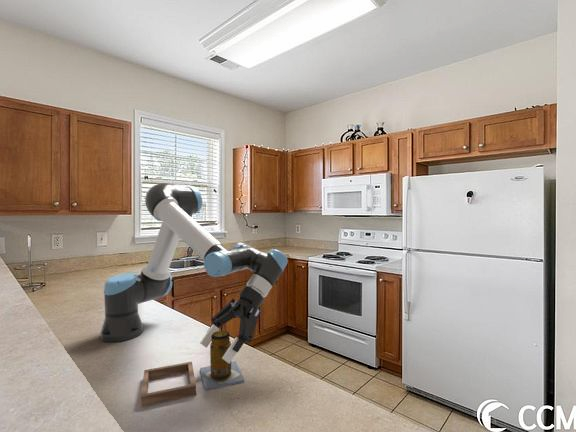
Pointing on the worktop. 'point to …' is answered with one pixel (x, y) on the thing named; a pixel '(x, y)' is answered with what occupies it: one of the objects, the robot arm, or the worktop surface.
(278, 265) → the robot arm
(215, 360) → the condiment
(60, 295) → the worktop surface
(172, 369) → the pocket
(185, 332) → the worktop surface
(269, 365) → the worktop surface
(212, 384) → the mat
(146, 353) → the worktop surface
